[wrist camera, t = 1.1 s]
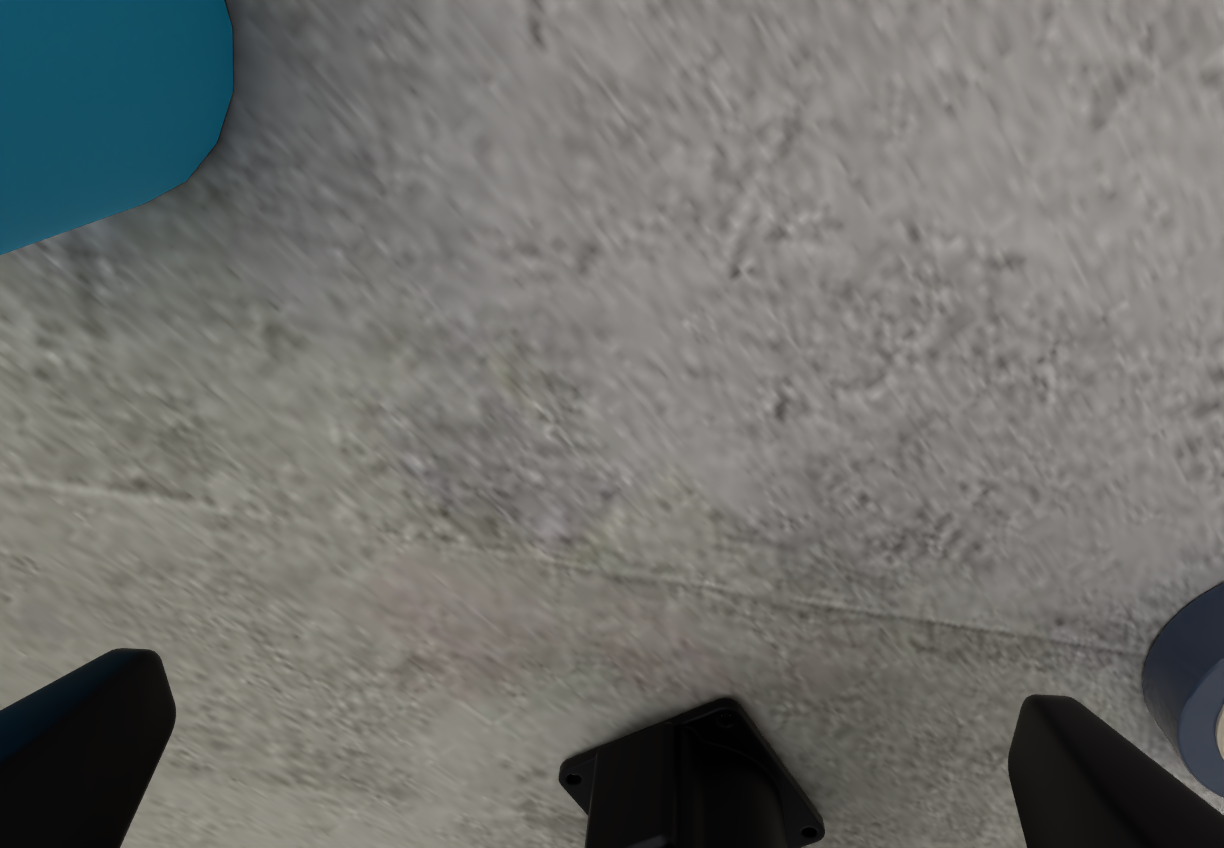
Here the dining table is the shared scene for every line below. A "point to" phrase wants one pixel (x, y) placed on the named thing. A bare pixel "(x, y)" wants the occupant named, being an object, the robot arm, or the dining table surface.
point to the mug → (104, 106)
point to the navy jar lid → (1191, 687)
